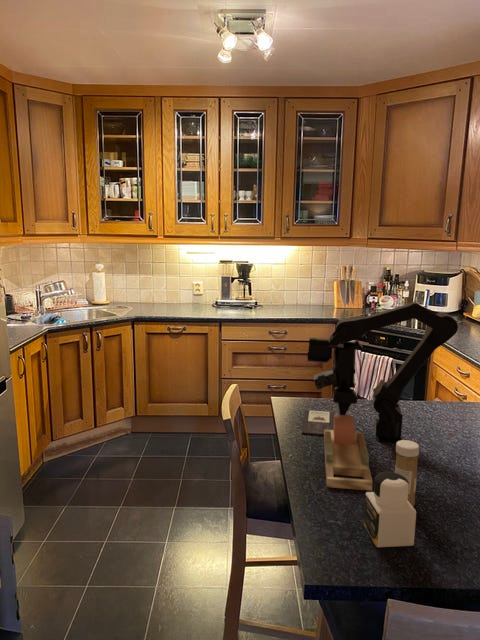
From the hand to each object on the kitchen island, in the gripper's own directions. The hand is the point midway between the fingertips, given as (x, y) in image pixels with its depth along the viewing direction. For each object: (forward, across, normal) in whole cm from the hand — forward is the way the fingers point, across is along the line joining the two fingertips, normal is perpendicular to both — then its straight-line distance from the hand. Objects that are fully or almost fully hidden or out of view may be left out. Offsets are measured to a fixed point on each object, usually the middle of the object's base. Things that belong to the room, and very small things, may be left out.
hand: (342, 416), depth 136 cm
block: (+3, +8, 0) cm, 8 cm away
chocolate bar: (+6, -6, -6) cm, 11 cm away
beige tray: (+5, +17, 0) cm, 18 cm away
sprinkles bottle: (+5, +35, +11) cm, 37 cm away
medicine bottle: (+5, +47, +6) cm, 48 cm away
